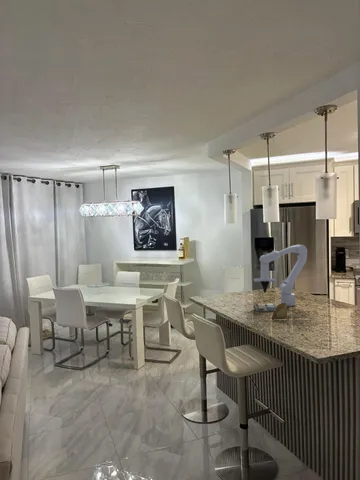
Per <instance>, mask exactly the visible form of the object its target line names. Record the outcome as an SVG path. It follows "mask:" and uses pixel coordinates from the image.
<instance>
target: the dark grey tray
mask: <svg viewBox="0 0 360 480" xmlns="http://www.w3.org/2000/svg"><path fill="white" fill-rule="evenodd" d="M273 305H274V307H275V310H276V308H277V305H276V304H275V303H273ZM253 307H254V309H255V312H256V313H273V312H274V311H275V310H268V308H267V304H265V308H263V309H259V308H258V304H254V306H253Z"/></svg>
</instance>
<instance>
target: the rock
mask: <svg viewBox="0 0 360 480" xmlns="http://www.w3.org/2000/svg"><path fill="white" fill-rule="evenodd" d="M276 307H277V308H276V310H275V311H274V312H272V315H271V320H273V321H274V320H286V319H288V312H287V311H288V310H287V309H288V306H286V303H281V302H280V304H278V305H276Z"/></svg>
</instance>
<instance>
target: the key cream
mask: <svg viewBox="0 0 360 480" xmlns="http://www.w3.org/2000/svg"><path fill="white" fill-rule="evenodd" d="M257 305H258V307H259V309H263V308H265V305H266V304H265V303H257Z"/></svg>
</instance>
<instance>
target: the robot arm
mask: <svg viewBox="0 0 360 480" xmlns="http://www.w3.org/2000/svg"><path fill="white" fill-rule="evenodd" d="M308 251H309V250H308V249H307V247H306V246H305V245H304V244H298V243H297V244H295V245H291V246H288V247H286V248H283V249H282V250H279V251H277V250H272V252H269V253H265V254H263V255H261V256H260V257H259V262H260V277H259V278H253V282H254V283H256V282H257V283H258V282H260V284H261V286H262V289H263V293H266V292H267V290H268V287H269V285H270V283H273V282H274V283H276V282H277V281H276V280H277V279H276V278H270V263H271V262H273V261H277V260H278V259H280V257H281V256H284V255H287V254H291V253H293V254H294V253H295V255H296V256H297V261H296V262H295V264H294V265H293V268H292V269H291V271H290V272H289V274H288V276H287V278H286V279H284V280H283V282H282V283H280V285H279V290H280V304H281V303H286V307H290V306H291V307H292V306H296V294H295V293H292V292H293V287H294V286H295V281H296V280H297V278H298V276H299V274H300V272H301V271H302V269H303V267H304V265H306V262H307V260H308V259H307V258H308V256H307V255H308Z"/></svg>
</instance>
